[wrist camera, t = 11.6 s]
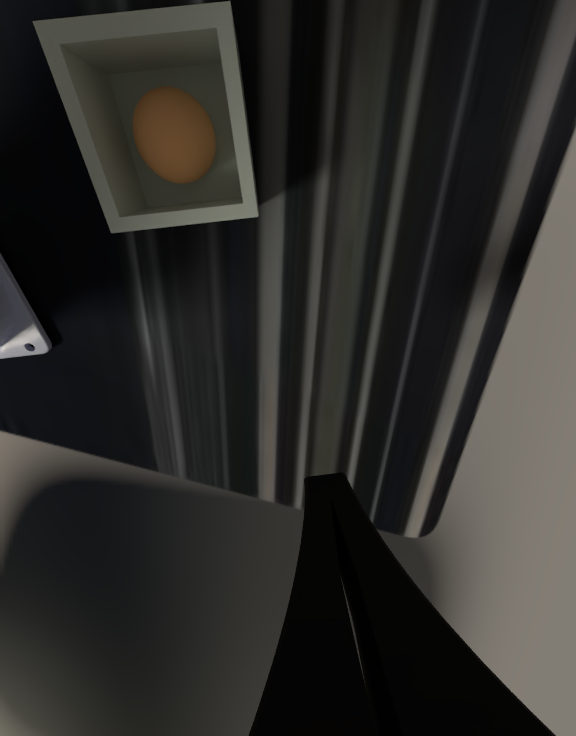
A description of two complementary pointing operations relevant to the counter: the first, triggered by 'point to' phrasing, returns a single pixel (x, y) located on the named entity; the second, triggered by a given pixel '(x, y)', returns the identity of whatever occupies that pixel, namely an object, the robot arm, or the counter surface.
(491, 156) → the counter surface
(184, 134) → the orange ball
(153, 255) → the counter surface
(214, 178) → the white open box
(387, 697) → the robot arm
